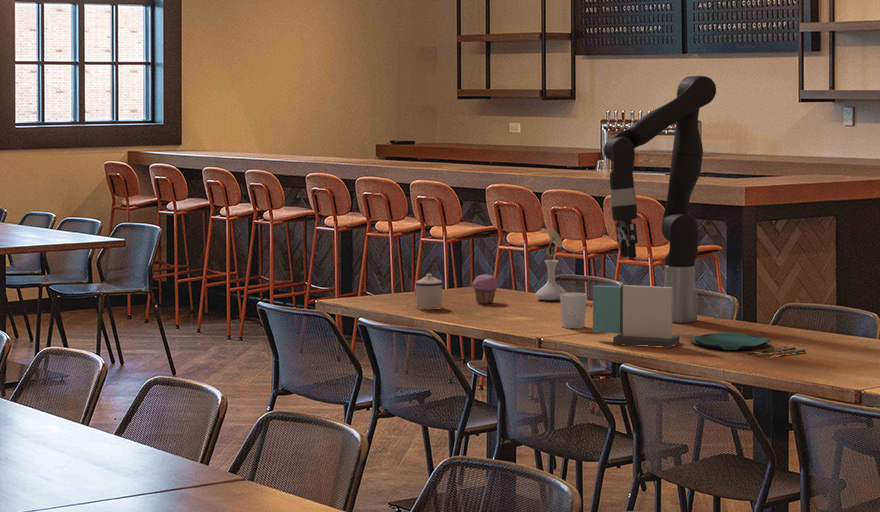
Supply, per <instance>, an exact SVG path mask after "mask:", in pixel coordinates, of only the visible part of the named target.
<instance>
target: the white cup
mask: <svg viewBox="0 0 880 512" xmlns="http://www.w3.org/2000/svg"><path fill="white" fill-rule="evenodd" d="M559 301H560V315H561V327H562V328H563V327H564V329H570V328H578V329H584V328H585V325H586V324H585V323H586V321H585V320H586V314H587V313H586V310H587V293H584V292H567V293H562V294H560V300H559ZM583 327H584V328H583Z"/></svg>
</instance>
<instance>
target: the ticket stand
mask: <svg viewBox="0 0 880 512" xmlns="http://www.w3.org/2000/svg"><path fill="white" fill-rule="evenodd" d="M620 287H621V333H620V334H617V335H615V336H613V341H612V343H613V344H625V345H624V346H626V345H648V346H663V347H670V346H672V345H674V344H676V343H678V342H679V343H680V334H679V335H677V334H673V322H672V294H673V287H665V286H654V285H653V286H651V285H634V284H633V285H632V284H631V285H630V284H623V285H621V286H620ZM679 343H678V344H679ZM676 345H677V344H676Z"/></svg>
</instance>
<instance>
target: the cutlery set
mask: <svg viewBox="0 0 880 512" xmlns="http://www.w3.org/2000/svg"><path fill="white" fill-rule="evenodd" d="M691 340H692V341H691V344H692V345H694V343H696V344H697V345H701V346H705V347H709V348H712V349H713V348H714V349H722V350H724V351H726V350H728V351H729V350H736V351H738V350H752V349H759V348H762V347H765V346H766V345H768V343H769V345H768V347H766V348H765V349H762V350H757V351H755V350H754V351H749V352H750V353H754V352H762V353H772V351H770V350H773V351H775V352H779V353H776V354H777V355H782V354H787V353H788V350H790V351H791V352H790V353H799V352H805V353H806V348H805V349H803V348H802V349H798V350H797V348H796V347H794V346H791V347H788V346H782V347H775V348H770V346H771V340H770V339H769V338H767V337H761V336H758V335H753V334H747V333H743V332H730V331H729V332H717V333H707V334H706V333H705V334H701V335H695V336H692V339H691ZM782 348H784V349H782ZM785 348H787V349H785ZM775 349H776V350H775ZM763 351H769V352H763ZM781 351H783V352H781ZM784 352H787V353H784ZM756 354H757V353H756ZM799 354H800V353H799Z"/></svg>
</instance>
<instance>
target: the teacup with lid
mask: <svg viewBox="0 0 880 512" xmlns="http://www.w3.org/2000/svg"><path fill="white" fill-rule="evenodd" d="M415 285H416V286H415V287H414V296H415V298H416V309H417V308H421V309H436V308H441V309H442V308H443V280H441V279H438V278H436V277H435V276H433V273H426V275H425V276H423V277H422V278H421V279H418V280H416V281H415Z"/></svg>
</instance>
